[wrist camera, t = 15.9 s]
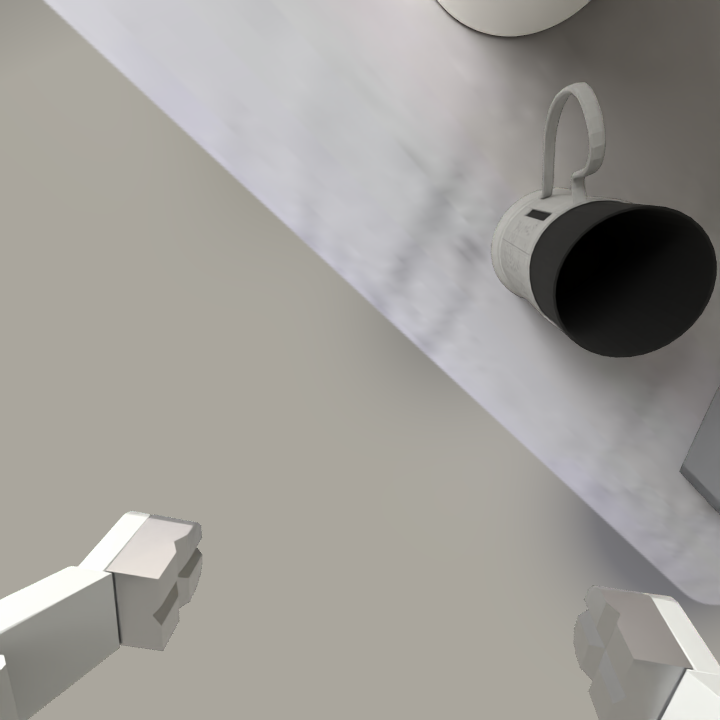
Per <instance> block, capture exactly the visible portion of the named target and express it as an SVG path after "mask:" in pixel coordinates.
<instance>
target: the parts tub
mask: <svg viewBox="0 0 720 720" xmlns="http://www.w3.org/2000/svg"><path fill="white" fill-rule="evenodd" d="M680 472H681V473H682V475H683V476H684V477H685V478H686V479H687V480H688V481H689V482H690V483H691V484H692V485H693V486H694V487H695V489H696V490H697V491H698V492H699V493H700V494H701V495H702V496H703V497H704V498H705V499H706V500H707V501H708V502H709V504H710V505H711V506H712V507H713V508H714V509H715V510H716V511H717V512H718V513H719V514H720V385H719V387H718V390H717V392H716V394H715V396H714V398H713V400H712V402H711V405H710V407H709V409H708V411H707V413H706V415H705V418H704V420H703V422H702V424H701V426H700V428H699V430H698V433H697V435H696V437H695V439H694V441H693V443H692V446H691V448H690V450H689V452H688V454H687V456H686V459H685V461H684V463H683V465H682V467H681V469H680Z"/></svg>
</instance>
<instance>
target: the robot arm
mask: <svg viewBox="0 0 720 720" xmlns="http://www.w3.org/2000/svg"><path fill="white" fill-rule="evenodd" d="M437 1H438V2H439V3H440V4H441V5H442V7H443V8H444V9H445V10H446V11H447V12H448V13H449V14H451V15H452V16H453V17H454V18H456V19H457V20H459V21H460V22H461V23H463V24H465V25H467V26H468V27H470V28H473V29H475V30H477V31H480V32H483V33H487V34H491V35H497V36H522V35H528V34H532V33H536V32H539V31H542V30H545V29H548V28H550V27H553V26H555V25H557V24H559V23H561V22H562V21H564V20H566V19H567V18H569V17H571V16H572V15H573V14H575V13H576V12H578V11H579V10H580V9H581V8H583V7H584V6H585V5H586V4H587V3H588V2H589V1H591V0H437ZM201 538H202V531H201V525H200V524H199V523H197V522H191V521H187V520H181V519H176V518H171V517H165V516H159V515H151V514H146V513H140V512H135V511H130V512H128V513H126V514H124V515H123V516H122V518H121V519H120V520H119V521H118V522H117V523H116V524H115V525H114V527H113V528H112V529H111V530H110V531H109V532H108V533H107V534H106V536H105V537H104V538H103V539H102V540H101V541H100V542H99V544H98V545H97V546H96V547H95V548H94V549H93V550H92V551H91V553H90V554H89V555H88V556H87V557H86V558H85V559H84V560H83V562H82V563H81V564H80V565H79V566H78V567H73V566H70V567H68V568H65V569H63V570H61V571H59V572H57V573H55V574H53V575H51V576H49V577H47V578H45V579H42V580H40V581H38V582H36V583H35V584H32V585H30V586H28V587H26V588H24V589H22V590H20V591H18V592H16V593H13V594H11V595H9V596H7V597H5V598H3V599H1V600H0V720H28V719H29V718H30V717H32V716H33V715H34V714H35V713H37V712H38V711H39V710H41V709H42V708H43V707H44V706H46V705H47V704H48V703H49V702H51V701H52V700H53V699H55V698H56V697H57V696H59V695H60V694H61V693H62V692H64V691H65V690H66V689H68V688H69V687H70V686H71V685H73V684H74V683H75V682H76V681H78V680H79V679H80V678H82V677H83V676H84V675H85V674H87V673H88V672H89V671H91V670H92V669H93V668H94V667H96V666H97V665H98V664H100V663H101V662H102V661H103V660H105V659H106V658H107V657H109V655H111V654H112V653H114V652H115V651H116V650H118V649H119V648H120V645H124V646H131V647H138V648H145V649H152V650H159V651H163V650H164V648H165V647H166V645H167V643H168V641H169V639H170V637H171V635H172V634H173V632H174V630H175V628H176V626H177V624H178V622H179V608H181V607H182V606H184V605H185V604H187V603H188V602H190V600H191V598H192V596H193V594H194V592H195V590H196V587H197V584H198V581H199V578H200V575H201V569H202V554H201V552H200V551H199V550H198V548H197V545H198V543H199V542H200V540H201ZM584 600H585V602H586V605H587V607H588V610H586V611H585V612H583V613H582V614H580V615H579V616H578V618H577V621H576V624H575V627H574V647H575V653H576V657H577V659H578V663H579V665H580V668H581V669H582V670H583V671H584V672H585V673H586V674H587V675H588V676H589V677H590V679H591V680H592V684H591V686H590V689H589V693H590V696H591V699H592V702H593V705H594V707H595V710H596V713H597V715H598V718H599V720H720V665H719V664H718V662H717V661H716V660H715V658H714V656H713V655H712V653H711V652H710V650H709V649H708V647H707V646H706V644H705V643H704V641H703V640H702V638H701V636H700V635H699V634H698V632H697V631H696V629H695V627H694V626H693V624H692V623H691V621H690V620H689V618H688V617H687V615H686V614H685V612H684V611H683V609H682V608H681V606H680V605H679V603H678V602H677V601H676V600H675V599H673V598H672V597H670V596H663V595H656V594H649V593H641V592H634V591H627V590H621V589H613V588H606V587H601V586H594V585H593V586H592V587H591V588H590V589H589V590H588V591H587V594H586V596H585V599H584Z"/></svg>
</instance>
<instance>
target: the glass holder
mask: <svg viewBox="0 0 720 720" xmlns="http://www.w3.org/2000/svg"><path fill="white" fill-rule="evenodd" d="M571 94H573V95H574V96H575V97H577V99H578V101H579V103H580V105H581V107H582V110H583V114H584V117H585V120H586V125H587V130H588V138H589V153H588V159H587V163H586V165H585V167H584V169H581V170H578V171H576V172H575V173H573V174H572V176H571V189H567V188H558V187H556V188H553V181H554V155H555V141H556V131H557V126H558V122H559V118H560V115H561V112H562V109H563V106H564V104H565V102H566V101H567V99H568V97H569V96H570V95H571ZM604 153H605V127H604V122H603V117H602V113H601V109H600V106H599V103H598V100H597V98H596V96H595V94H594V92H593V90H592V88H591V87H590V86H589V85H588V84H586V83H585V82H580V83H574V84H571V85H568V86H566V87H565V88H563V89H562V90H561V91H560V92H559V93H558V94H557V95H556V96H555V98H554V99H553V101H552V103H551V105H550V108H549V111H548V115H547V118H546V123H545V127H544V139H543V178H542V190H538V191H535V192H532V193H530V194H528V195H526V196H524V197H523V198H521V199H520V200H518V201H517V202H516V203H514V204H513V205H512V206H511V207H510V208H509V209H508V210H507V211H506V213H505V214H504V215H503V216H502V218H501V220H500V221H499V223H498V225H497V227H496V230H495V232H494V235H493V240H492V245H491V257H492V264H493V267H494V270H495V272H496V274H497V276H498V278H499V279H500V281H501V282H502V283H503V284H504V285H505V287H506V288H508V289H509V290H510V291H511V292H513V293H515V294H516V295H518V296H520V297H523V298H526V299H527V300H528V301H529V302H530V303H531V304H532V305H533V306H534V307H535V308H536V309H537V310H538V311H539V312H540V314H541V315H542V316H544V317H545V318H546V319H547V320H548V321H549V322H551V323H552V324H553V325H554V326H555V327H556V328H558V329H560V330H561V331H563V332H564V333H565V334H566V335H567V336H568V337H569V338H570V339H572V340H573V341H574V342H575V343H577V344H578V345H579V346H581V347H582V348H584V349H586V350H588V351H590V352H593V353H596V354H599V355H603V356H609V357H632V356H638V355H643V354H646V353H649V352H652V351H655V350H658V349H660V348H662V347H664V346H666V345H668V344H670V343H671V342H672V341H674V340H675V339H677V338H678V337H680V336H681V335H682V334H683V333H685V332H686V331H687V330H688V329H689V328H690V327H691V326H692V325H693V324H694V323H695V321H696V320H697V319H698V318H699V317H700V315H701V314H702V312H703V311H704V309H705V307H706V306H707V304H708V302H709V300H710V297H711V295H712V292H713V289H714V285H715V280H716V275H717V261H716V256H715V251H714V248H713V245H712V243H711V241H710V239H709V236H708V235H707V234H706V232H705V231H704V230H703V228H702V227H701V226H700V225H699V224H698V223H697V222H695V221H694V220H693V219H692V218H691V217H689V216H687V215H685V214H683V213H681V212H680V211H677V210H674V209H670V208H667V207H661V206H651V205H641V204H633V203H631V202H627V201H624V200H621V199H613V198H602V197H589V196H586V192H585V185H584V178H585V176H588V175H591V174H593V173H595V172H596V171H597V170H598V169H599V167H600V166H601V165H602V161H603V158H604Z"/></svg>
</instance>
